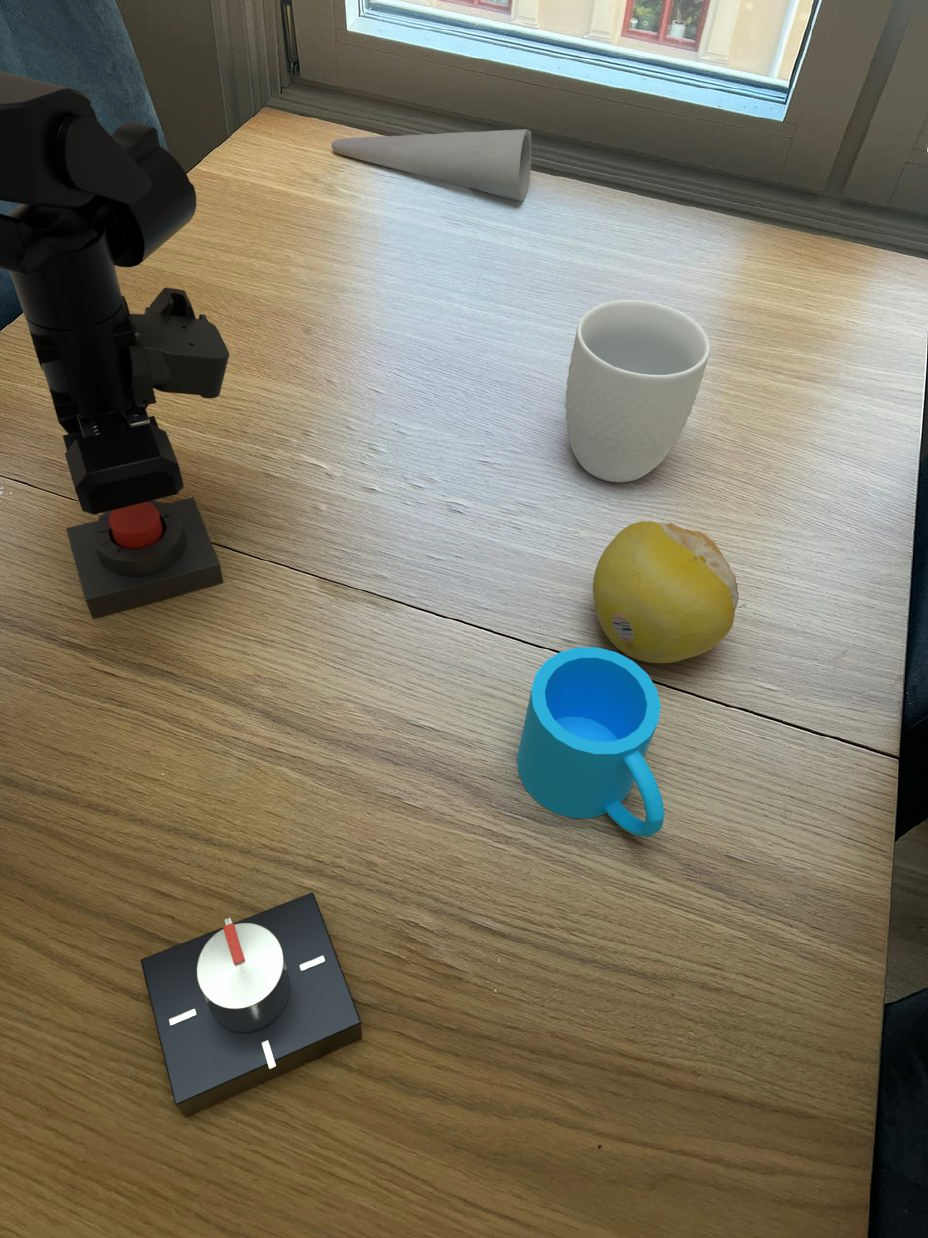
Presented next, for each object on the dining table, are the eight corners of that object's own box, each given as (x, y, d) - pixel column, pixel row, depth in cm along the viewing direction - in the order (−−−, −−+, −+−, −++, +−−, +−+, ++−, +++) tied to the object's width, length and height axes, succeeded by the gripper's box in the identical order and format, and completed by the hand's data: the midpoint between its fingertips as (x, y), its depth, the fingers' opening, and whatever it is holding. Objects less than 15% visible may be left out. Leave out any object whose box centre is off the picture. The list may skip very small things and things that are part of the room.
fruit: (692, 710, 68) (731, 624, 61) (560, 648, 71) (581, 558, 63) (736, 619, 74) (777, 530, 66) (613, 566, 77) (638, 474, 69)
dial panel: (186, 1124, 49) (176, 1110, 47) (149, 972, 54) (138, 953, 52) (364, 1044, 52) (363, 1027, 50) (314, 907, 57) (311, 885, 55)
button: (119, 555, 70) (114, 538, 68) (109, 523, 72) (104, 506, 70) (167, 542, 71) (163, 526, 69) (157, 511, 73) (152, 495, 71)
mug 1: (526, 403, 90) (543, 279, 80) (631, 390, 92) (661, 269, 82) (577, 508, 81) (604, 383, 71) (692, 492, 83) (734, 369, 73)
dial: (300, 1011, 50) (294, 985, 47) (220, 1047, 49) (208, 1022, 46) (275, 937, 53) (268, 907, 49) (198, 969, 51) (185, 940, 48)
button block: (92, 619, 70) (79, 583, 67) (73, 547, 74) (59, 511, 71) (223, 583, 73) (216, 547, 70) (197, 516, 78) (190, 480, 75)
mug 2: (494, 744, 65) (506, 676, 59) (589, 699, 68) (610, 629, 62) (593, 888, 59) (618, 828, 53) (692, 831, 62) (727, 769, 56)
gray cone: (307, 140, 113) (518, 148, 108) (329, 110, 118) (531, 116, 113) (318, 203, 119) (519, 213, 114) (339, 172, 124) (531, 180, 119)
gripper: (248, 364, 53) (274, 552, 65) (170, 209, 64) (204, 396, 76) (45, 406, 50) (112, 596, 62) (-3, 235, 60) (62, 426, 72)
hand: (128, 494), depth 68 cm, fingers closed
